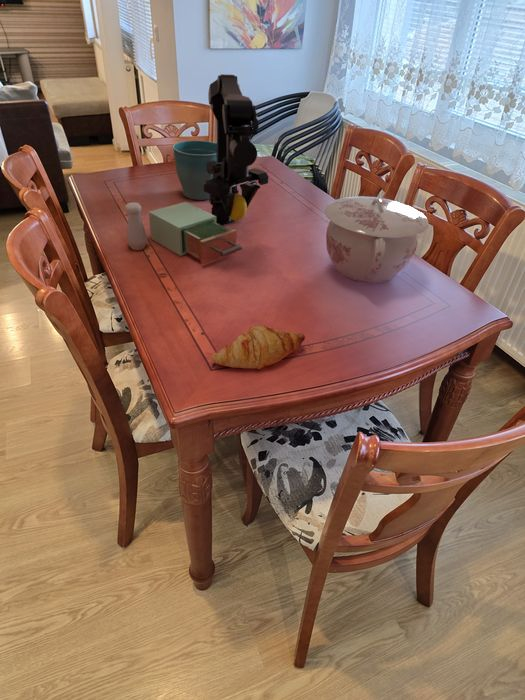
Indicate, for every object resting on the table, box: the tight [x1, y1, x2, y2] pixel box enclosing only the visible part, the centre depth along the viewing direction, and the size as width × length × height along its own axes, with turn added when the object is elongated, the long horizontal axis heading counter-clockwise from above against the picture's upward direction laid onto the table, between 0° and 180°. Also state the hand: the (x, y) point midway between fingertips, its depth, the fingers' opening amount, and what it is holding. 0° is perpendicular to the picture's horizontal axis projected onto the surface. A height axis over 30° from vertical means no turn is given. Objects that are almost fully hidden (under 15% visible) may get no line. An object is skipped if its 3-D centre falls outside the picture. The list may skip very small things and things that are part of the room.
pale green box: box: [148, 201, 216, 257], centre depth 139 cm, size 15×14×9 cm
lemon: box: [229, 192, 248, 223], centre depth 128 cm, size 6×6×8 cm
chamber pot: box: [323, 195, 429, 284], centre depth 127 cm, size 28×28×21 cm
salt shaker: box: [125, 201, 148, 251], centre depth 133 cm, size 6×6×13 cm
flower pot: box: [172, 139, 217, 201], centre depth 169 cm, size 18×18×17 cm
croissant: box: [211, 325, 306, 370], centre depth 98 cm, size 21×10×8 cm, turn 115°
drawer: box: [181, 220, 243, 266], centre depth 133 cm, size 19×12×7 cm, turn 45°
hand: (236, 213), depth 129 cm, fingers closed on lemon, 5 cm apart
